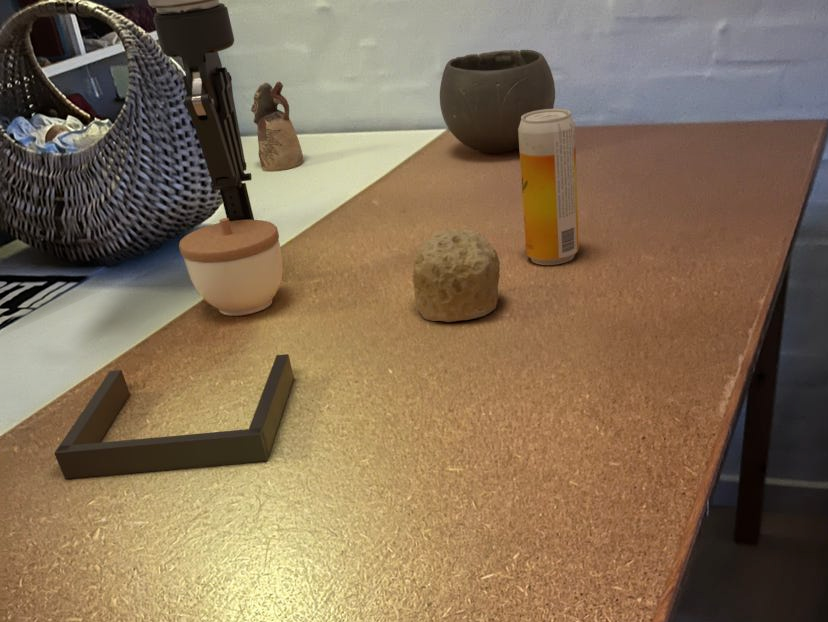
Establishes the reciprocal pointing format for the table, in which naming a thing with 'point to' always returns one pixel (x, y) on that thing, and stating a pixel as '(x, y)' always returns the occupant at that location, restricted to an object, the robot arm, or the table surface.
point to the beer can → (549, 185)
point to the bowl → (494, 96)
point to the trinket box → (235, 264)
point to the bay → (172, 452)
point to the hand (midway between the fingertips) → (247, 245)
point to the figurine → (275, 130)
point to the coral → (456, 276)
